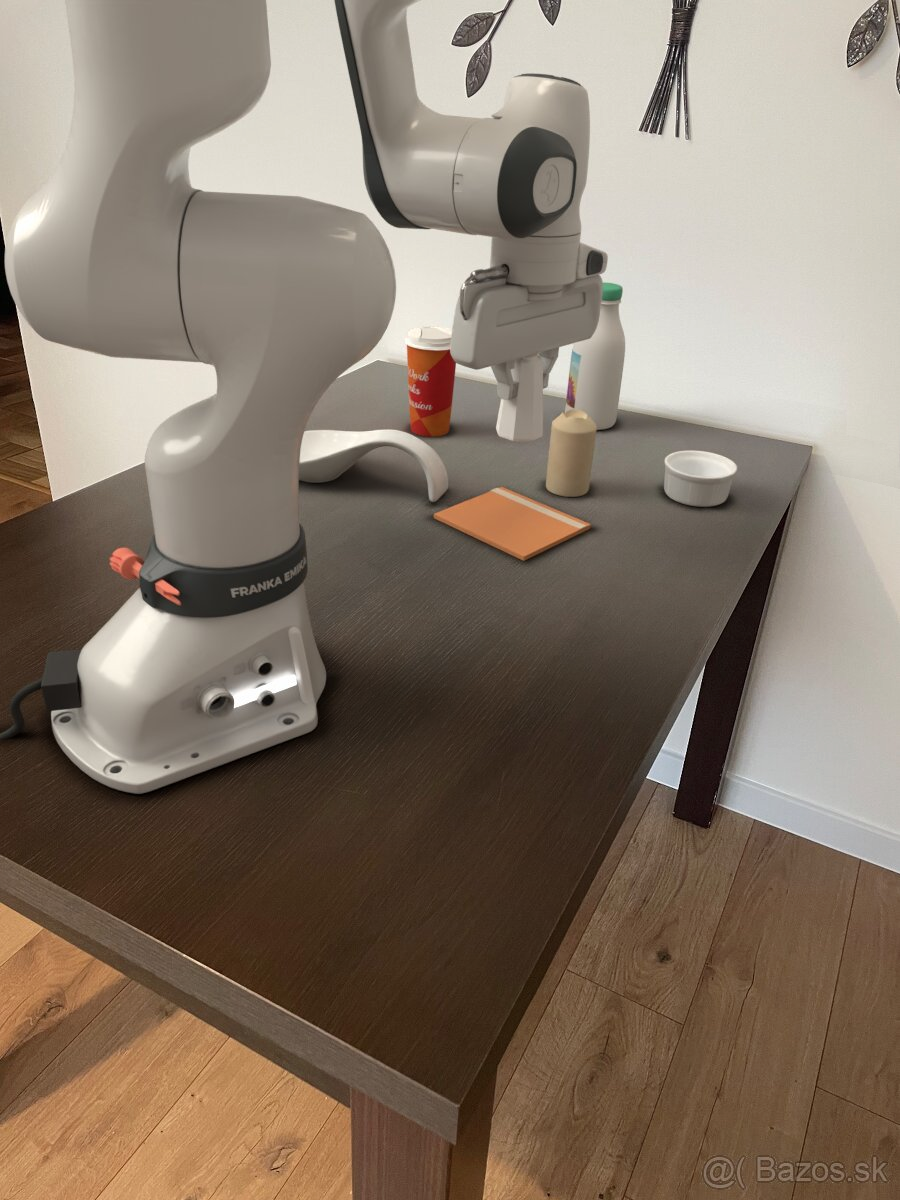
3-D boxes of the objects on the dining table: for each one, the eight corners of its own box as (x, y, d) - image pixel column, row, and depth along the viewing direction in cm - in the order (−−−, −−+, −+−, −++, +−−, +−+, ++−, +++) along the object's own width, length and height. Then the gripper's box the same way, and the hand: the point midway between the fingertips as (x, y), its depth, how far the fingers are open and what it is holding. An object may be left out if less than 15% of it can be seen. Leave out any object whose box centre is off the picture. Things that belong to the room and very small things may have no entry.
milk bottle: (623, 420, 140) (642, 284, 130) (602, 435, 134) (621, 294, 124) (577, 409, 143) (592, 276, 133) (555, 423, 138) (569, 285, 127)
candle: (587, 499, 115) (596, 423, 109) (543, 494, 115) (550, 418, 110) (590, 482, 119) (599, 408, 114) (548, 477, 120) (555, 403, 115)
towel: (523, 561, 100) (524, 555, 100) (433, 518, 108) (433, 512, 108) (590, 528, 108) (591, 523, 107) (501, 490, 116) (501, 485, 116)
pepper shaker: (489, 437, 101) (495, 337, 95) (502, 421, 105) (509, 324, 99) (537, 445, 99) (547, 343, 94) (548, 428, 104) (558, 330, 98)
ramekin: (698, 515, 112) (705, 483, 110) (645, 490, 118) (650, 458, 116) (745, 499, 116) (752, 468, 114) (691, 475, 122) (697, 445, 120)
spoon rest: (249, 482, 115) (245, 427, 111) (294, 450, 125) (291, 399, 121) (426, 516, 109) (428, 459, 105) (459, 480, 118) (461, 426, 114)
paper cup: (397, 422, 135) (398, 326, 128) (447, 418, 137) (450, 324, 130) (411, 441, 129) (413, 341, 122) (463, 437, 131) (468, 339, 124)
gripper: (487, 278, 84) (478, 422, 92) (618, 254, 97) (601, 381, 104) (438, 266, 88) (434, 405, 95) (571, 244, 101) (558, 368, 108)
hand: (522, 393), depth 100 cm, fingers closed on pepper shaker, 4 cm apart
